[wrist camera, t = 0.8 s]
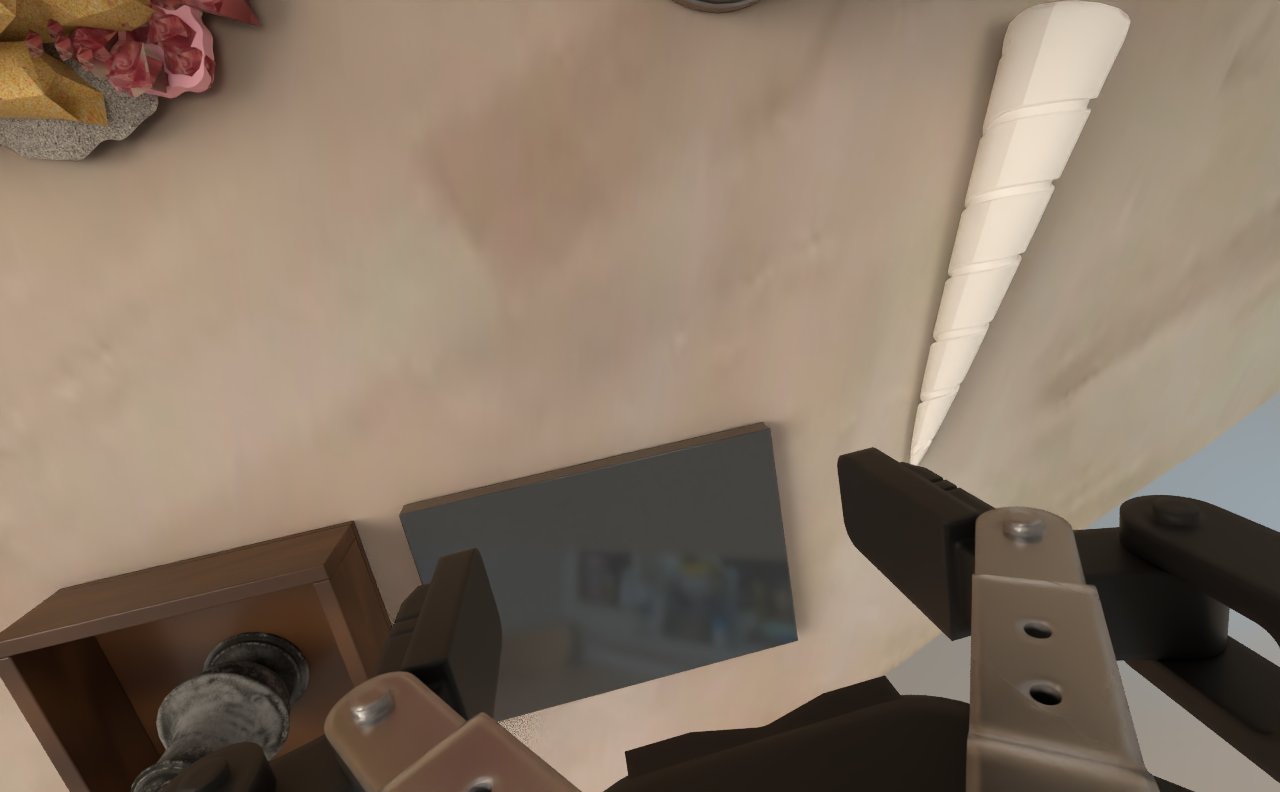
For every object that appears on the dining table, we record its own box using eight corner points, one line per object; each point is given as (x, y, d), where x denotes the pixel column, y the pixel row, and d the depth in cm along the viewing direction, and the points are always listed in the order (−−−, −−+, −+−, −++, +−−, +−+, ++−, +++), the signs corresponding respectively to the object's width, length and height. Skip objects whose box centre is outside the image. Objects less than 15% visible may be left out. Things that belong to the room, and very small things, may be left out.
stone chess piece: (330, 644, 33) (213, 865, 21) (296, 729, 34) (167, 984, 22) (216, 613, 31) (24, 833, 20) (183, 703, 32) (-16, 961, 21)
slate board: (403, 505, 32) (398, 515, 30) (762, 421, 34) (770, 428, 32) (473, 713, 36) (470, 729, 34) (790, 628, 37) (798, 640, 36)
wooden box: (59, 589, 30) (-20, 646, 26) (353, 520, 31) (323, 564, 27) (176, 804, 34) (124, 884, 30) (431, 736, 36) (416, 803, 31)
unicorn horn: (849, 457, 35) (896, 490, 30) (991, 14, 30) (1073, -27, 25) (920, 469, 36) (975, 504, 31) (1069, 42, 31) (1162, 8, 26)
